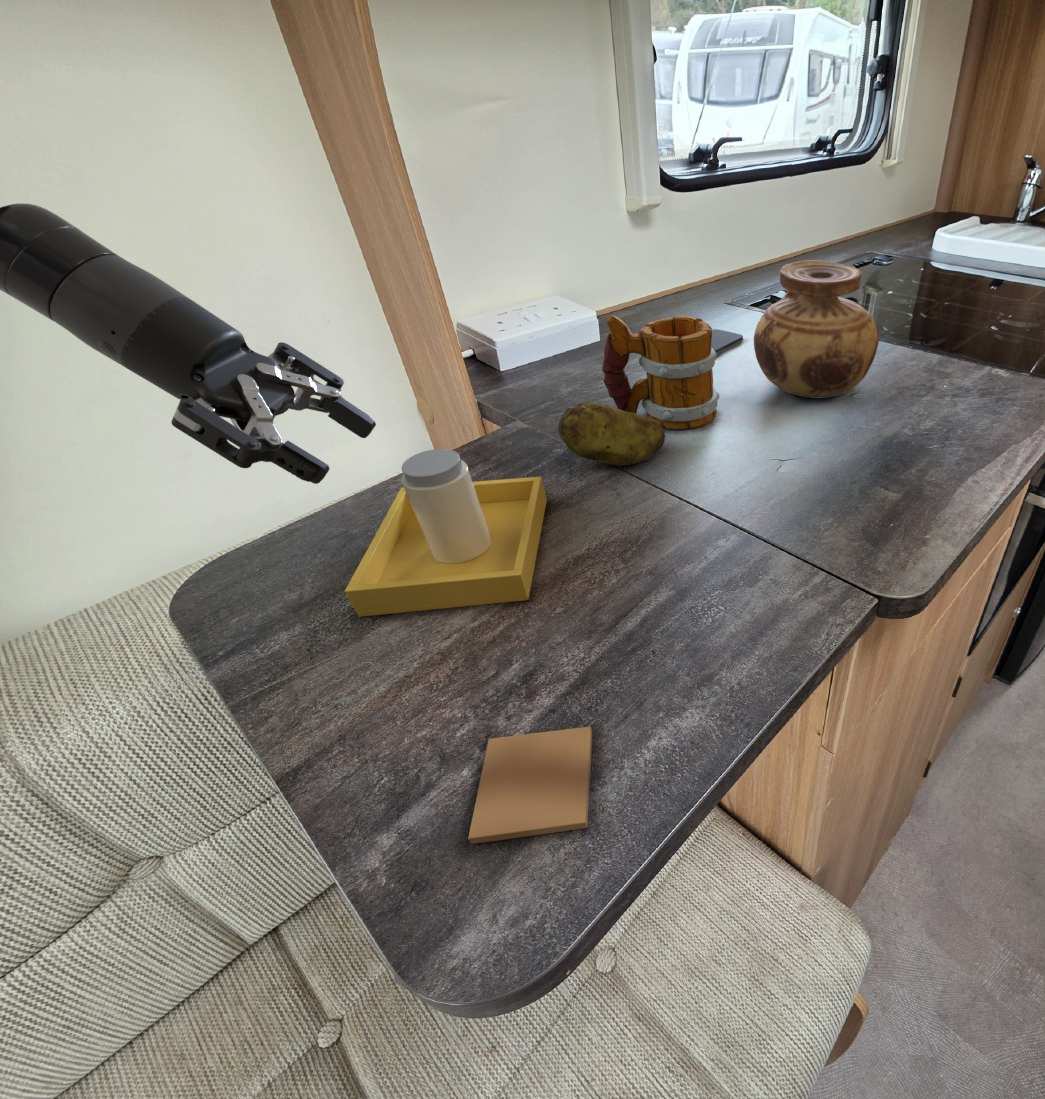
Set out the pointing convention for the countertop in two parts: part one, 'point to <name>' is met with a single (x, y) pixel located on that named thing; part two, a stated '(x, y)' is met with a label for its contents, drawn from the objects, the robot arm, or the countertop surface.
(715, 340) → the phone
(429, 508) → the jar with grey lid
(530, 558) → the tray
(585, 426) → the potato
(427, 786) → the countertop surface
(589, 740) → the trivet
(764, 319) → the clay pot
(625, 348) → the mug
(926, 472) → the countertop surface
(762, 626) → the countertop surface
